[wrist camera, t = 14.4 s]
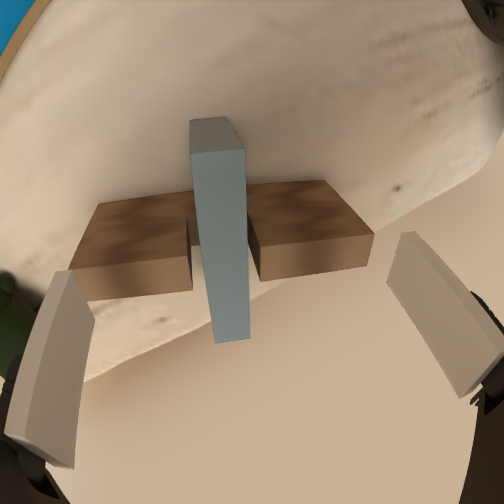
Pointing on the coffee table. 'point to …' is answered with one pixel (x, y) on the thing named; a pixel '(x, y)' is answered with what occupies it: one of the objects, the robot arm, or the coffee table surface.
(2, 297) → the toy figurine
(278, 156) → the coffee table surface
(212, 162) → the slate plate
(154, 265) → the walnut board
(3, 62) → the book
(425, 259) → the robot arm
